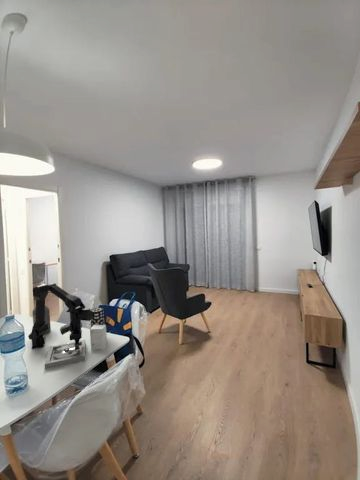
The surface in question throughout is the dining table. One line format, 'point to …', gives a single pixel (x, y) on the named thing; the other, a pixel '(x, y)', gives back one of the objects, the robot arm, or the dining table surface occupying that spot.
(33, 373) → the dining table surface
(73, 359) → the grey square tray
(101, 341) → the small box
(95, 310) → the spotted tube
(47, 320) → the liquor
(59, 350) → the dial
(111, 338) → the dining table surface
